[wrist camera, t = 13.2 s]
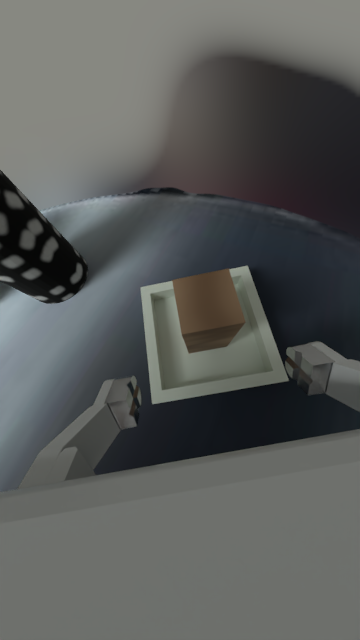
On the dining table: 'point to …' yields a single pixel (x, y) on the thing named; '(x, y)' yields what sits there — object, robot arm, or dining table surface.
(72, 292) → the spotted tube
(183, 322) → the block
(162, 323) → the dish
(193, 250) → the dining table surface
